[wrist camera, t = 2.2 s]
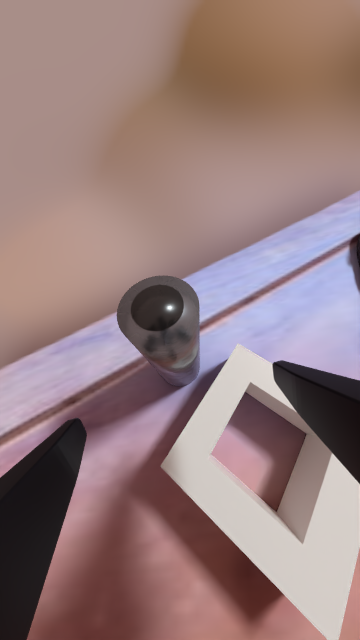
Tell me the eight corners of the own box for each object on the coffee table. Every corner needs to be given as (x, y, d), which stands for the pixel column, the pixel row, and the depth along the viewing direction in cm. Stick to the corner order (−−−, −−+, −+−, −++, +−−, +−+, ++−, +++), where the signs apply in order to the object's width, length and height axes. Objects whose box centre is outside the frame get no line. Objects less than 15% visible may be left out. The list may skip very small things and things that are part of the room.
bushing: (184, 395, 18) (162, 364, 8) (152, 369, 20) (98, 315, 9) (207, 360, 20) (215, 295, 9) (176, 339, 21) (153, 263, 11)
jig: (296, 581, 12) (336, 648, 9) (168, 455, 16) (160, 466, 13) (345, 427, 16) (386, 430, 12) (231, 356, 20) (238, 343, 16)
